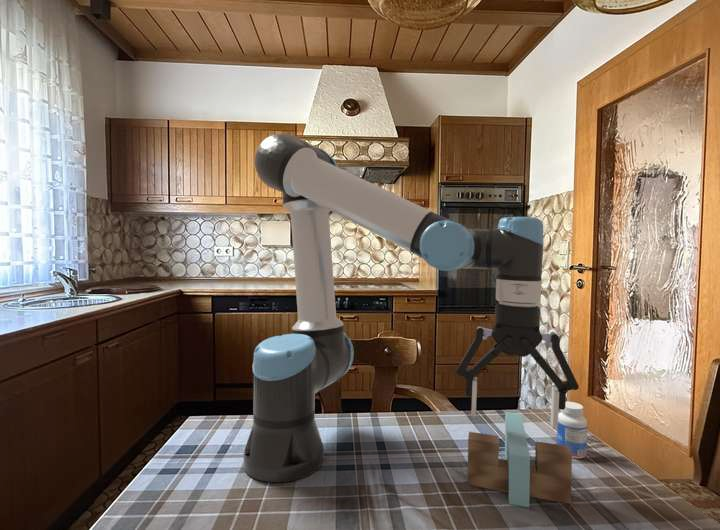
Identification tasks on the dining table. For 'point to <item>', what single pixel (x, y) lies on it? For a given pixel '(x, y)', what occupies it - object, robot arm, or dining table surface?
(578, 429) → the pill bottle
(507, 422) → the teal bridge block
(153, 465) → the dining table surface
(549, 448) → the brown u-shaped block
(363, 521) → the dining table surface
